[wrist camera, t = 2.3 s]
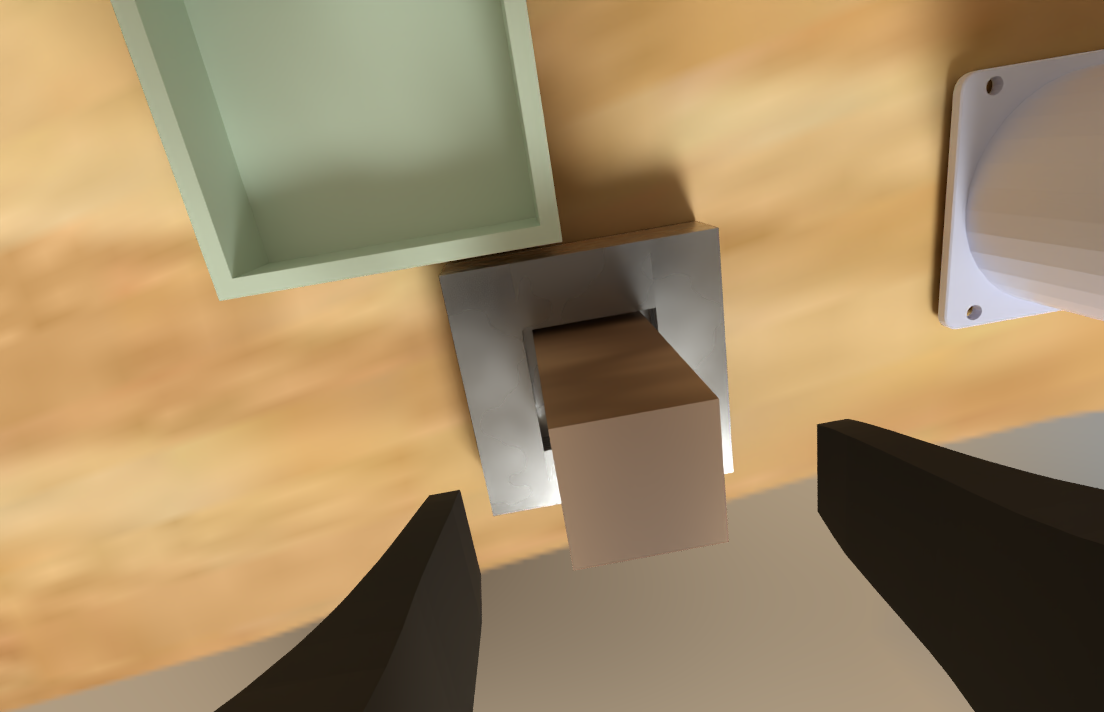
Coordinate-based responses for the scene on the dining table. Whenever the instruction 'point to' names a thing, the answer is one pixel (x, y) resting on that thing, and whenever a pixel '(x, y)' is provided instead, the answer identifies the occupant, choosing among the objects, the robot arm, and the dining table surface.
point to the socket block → (565, 297)
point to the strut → (630, 441)
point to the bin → (346, 132)
